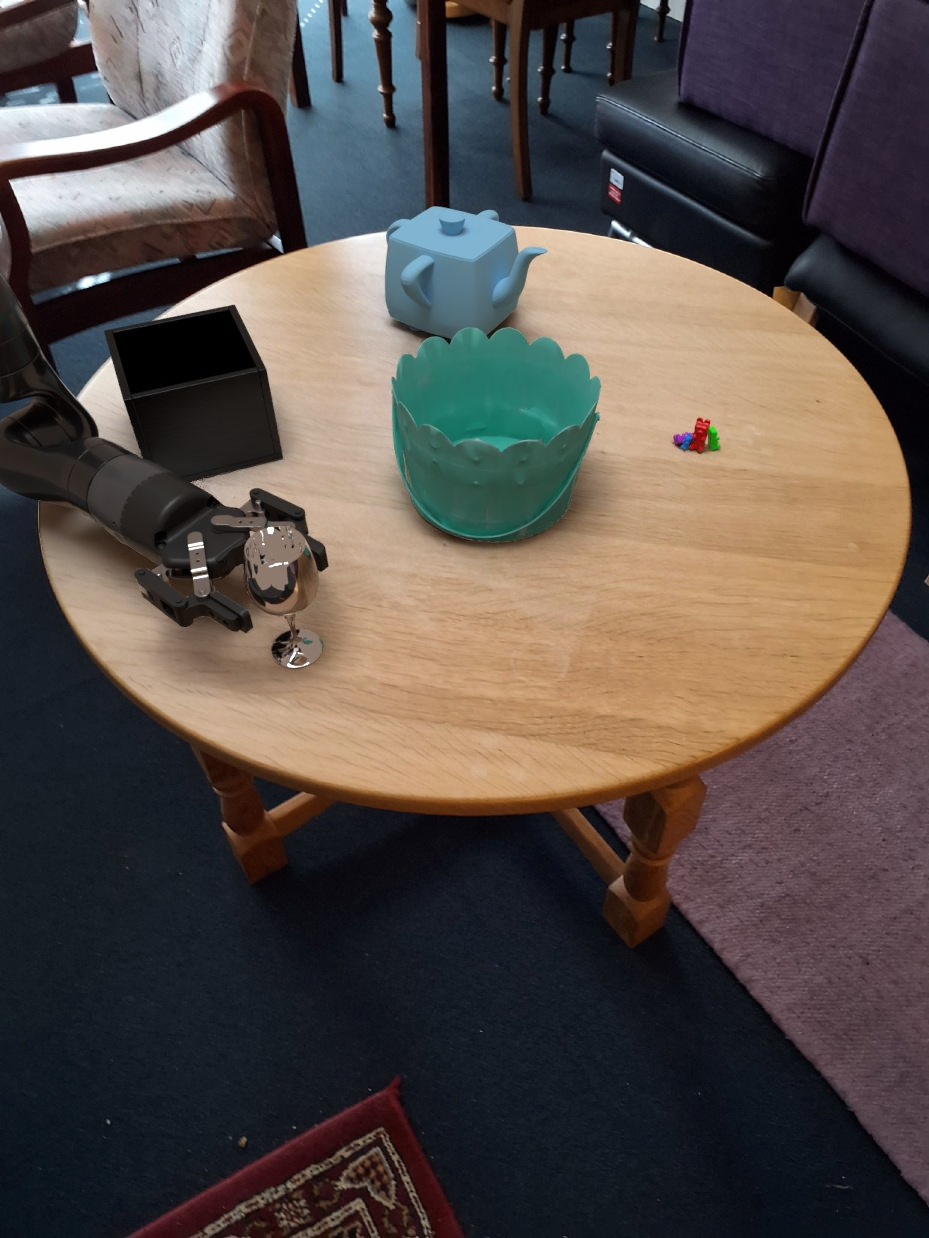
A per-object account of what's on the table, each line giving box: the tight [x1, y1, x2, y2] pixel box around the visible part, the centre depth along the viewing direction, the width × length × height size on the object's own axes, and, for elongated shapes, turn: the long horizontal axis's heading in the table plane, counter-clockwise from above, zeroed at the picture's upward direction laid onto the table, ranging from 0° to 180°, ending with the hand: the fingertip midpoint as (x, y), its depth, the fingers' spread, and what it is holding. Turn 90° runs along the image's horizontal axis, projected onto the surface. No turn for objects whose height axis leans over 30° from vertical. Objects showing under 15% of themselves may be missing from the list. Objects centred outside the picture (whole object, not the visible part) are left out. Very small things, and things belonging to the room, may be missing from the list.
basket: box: [390, 327, 602, 544], centre depth 86 cm, size 19×18×13 cm
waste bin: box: [103, 304, 284, 482], centre depth 93 cm, size 14×14×11 cm
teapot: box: [384, 206, 548, 341], centre depth 109 cm, size 18×16×14 cm
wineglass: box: [242, 526, 324, 670], centre depth 72 cm, size 6×6×12 cm
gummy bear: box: [672, 417, 721, 453], centre depth 94 cm, size 5×3×4 cm, turn 65°
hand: (288, 591), depth 71 cm, fingers open, 8 cm apart
